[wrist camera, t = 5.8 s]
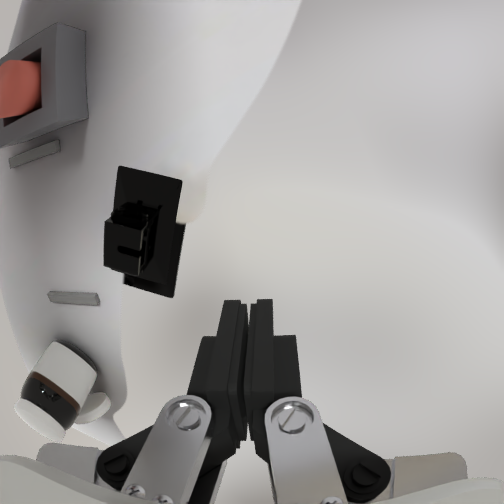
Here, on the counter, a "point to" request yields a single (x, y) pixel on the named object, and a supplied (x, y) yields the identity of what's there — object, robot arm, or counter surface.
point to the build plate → (145, 231)
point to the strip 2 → (74, 298)
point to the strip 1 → (34, 153)
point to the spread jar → (61, 392)
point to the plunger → (20, 88)
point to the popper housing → (51, 83)
